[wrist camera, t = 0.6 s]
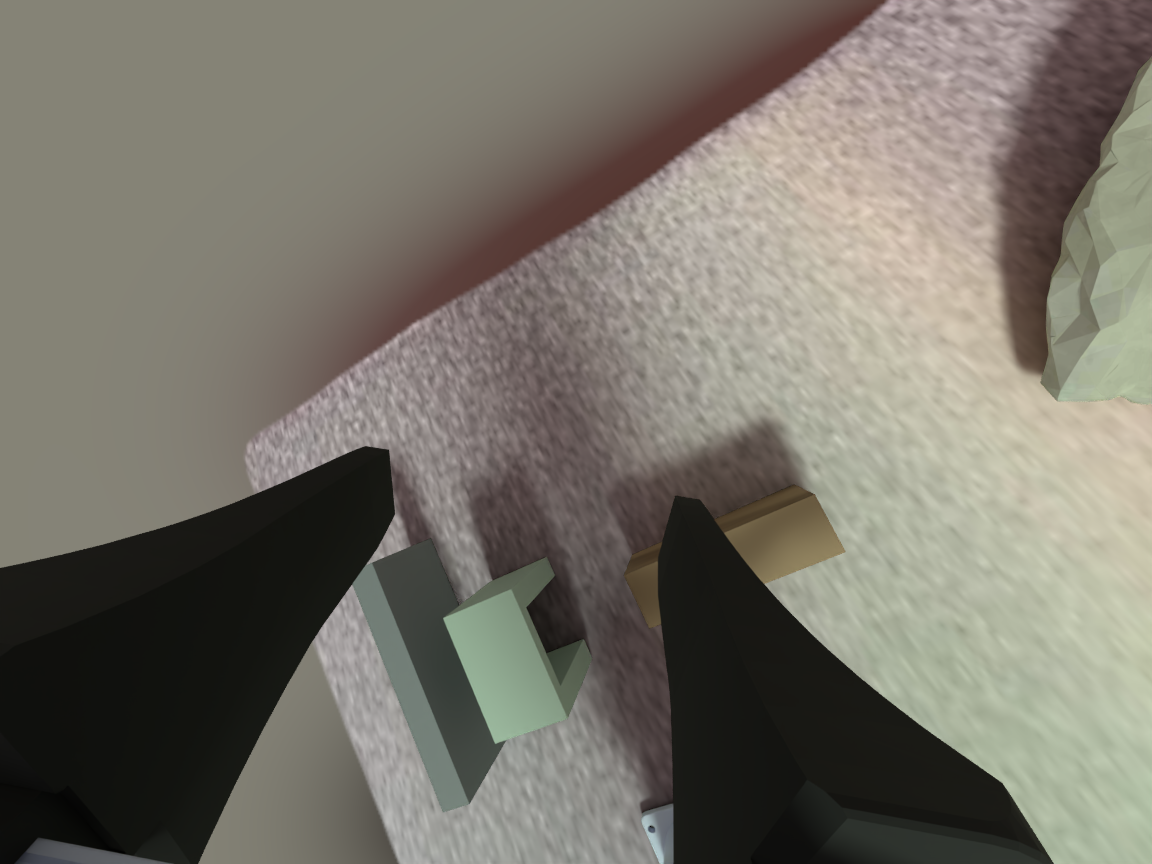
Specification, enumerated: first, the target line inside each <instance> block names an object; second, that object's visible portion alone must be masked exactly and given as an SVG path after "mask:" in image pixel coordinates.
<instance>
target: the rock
mask: <svg viewBox="0 0 1152 864" xmlns="http://www.w3.org/2000/svg"><path fill="white" fill-rule="evenodd" d="M1046 333H1047V342H1048V351H1049V355H1048V358H1047V362H1046V365H1045V369H1044V372H1043V375H1042V379H1041V382H1040V383H1041V384H1042V385H1043V386H1044V387H1045V388H1046V390H1047V391H1048V392H1049V393H1050V394H1051V395H1052V396H1053V397H1054V398H1055V400H1056V401H1074V402H1092V401H1103V400H1111V399H1113V398H1116V397H1119V396H1121V397H1124V398H1125V399H1127V400H1128V401H1130V402H1131V403H1138V404H1146V405H1148V404H1152V57H1151V58H1150V59H1149V60H1148V61H1147V62H1146V63H1145V64H1144V65H1143V66H1142V67H1141V68H1140V69H1139V70H1138V73H1137V75H1136V78H1135V80H1134V83H1133V85H1132V87H1131V89H1130V91H1129V94H1128V96H1127V98H1126V100H1125V103H1124V105H1123V107H1122V109H1121V112H1120V114H1119V115H1118V117H1117V119H1116V120H1115V122H1114V124H1113V125H1112V127H1111V129H1110V130H1109V132H1108V134H1107V135H1106V137H1105V138H1104V140H1103V142H1102V143H1101V156H1100V167H1099V168H1098V169H1097V171H1096V172H1095V173H1094V174H1093V175H1092V177H1091V178H1090V179H1089V180H1088V182H1087V184H1086V185H1085V187H1084V188H1083V190H1082V191H1081V193H1080V195H1079V196H1078V198H1077V200H1076V202H1075V203H1074V205H1073V207H1072V209H1071V211H1070V213H1069V215H1068V217H1067V218H1066V220H1065V222H1064V227H1063V235H1062V245H1061V255H1060V258H1059V261H1058V263H1057V265H1056V267H1055V269H1054V271H1053V273H1052V276H1051V283H1050V290H1049V294H1048V298H1047V312H1046Z"/></svg>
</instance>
